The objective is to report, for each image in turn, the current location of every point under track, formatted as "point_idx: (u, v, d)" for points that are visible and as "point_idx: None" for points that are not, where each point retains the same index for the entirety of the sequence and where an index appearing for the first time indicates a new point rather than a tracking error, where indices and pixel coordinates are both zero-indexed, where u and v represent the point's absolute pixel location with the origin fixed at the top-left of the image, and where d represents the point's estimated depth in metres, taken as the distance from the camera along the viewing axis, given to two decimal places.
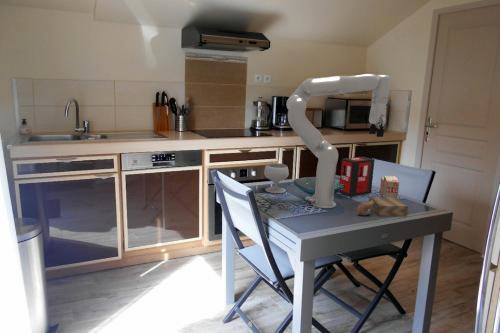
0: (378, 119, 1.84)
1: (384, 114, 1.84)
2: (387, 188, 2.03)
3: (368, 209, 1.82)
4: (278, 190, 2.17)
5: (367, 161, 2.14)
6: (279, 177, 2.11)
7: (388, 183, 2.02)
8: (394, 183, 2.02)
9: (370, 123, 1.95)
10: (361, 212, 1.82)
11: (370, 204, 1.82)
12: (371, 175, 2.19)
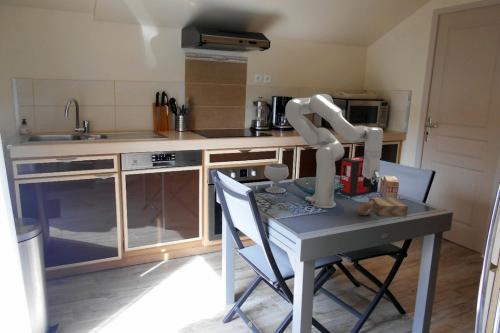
0: (371, 174, 1.75)
1: (378, 169, 1.74)
2: (387, 188, 2.03)
3: (368, 209, 1.82)
4: (278, 190, 2.17)
5: None
6: (279, 177, 2.11)
7: (388, 183, 2.02)
8: (394, 183, 2.02)
9: (363, 176, 1.85)
10: (361, 212, 1.82)
11: (370, 204, 1.82)
12: None
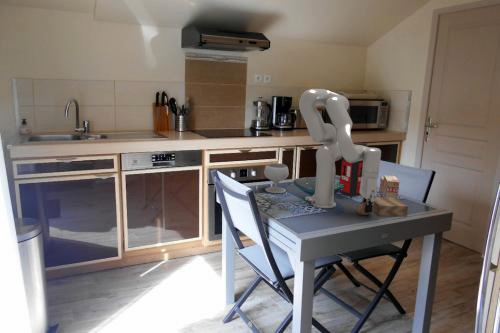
0: (369, 194, 1.77)
1: (375, 189, 1.77)
2: (387, 188, 2.03)
3: None
4: (278, 190, 2.17)
5: None
6: (279, 177, 2.11)
7: (388, 183, 2.03)
8: (394, 183, 2.02)
9: (362, 198, 1.86)
10: (361, 212, 1.82)
11: None
12: None
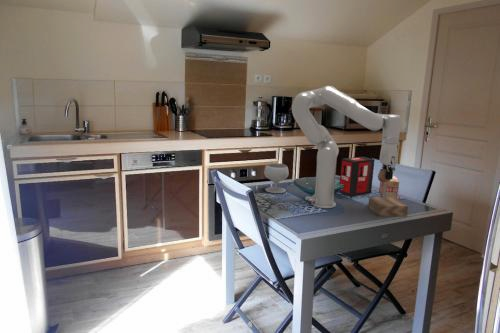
0: (389, 160, 1.78)
1: (395, 155, 1.78)
2: (387, 188, 2.04)
3: None
4: (278, 190, 2.17)
5: (367, 161, 2.14)
6: (279, 177, 2.11)
7: (388, 183, 2.03)
8: (394, 183, 2.02)
9: (382, 166, 1.87)
10: (381, 179, 1.84)
11: None
12: (371, 175, 2.19)
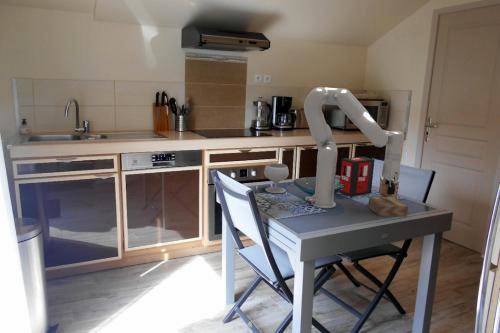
0: (392, 176, 1.82)
1: (398, 171, 1.82)
2: None
3: None
4: (278, 190, 2.17)
5: (367, 161, 2.14)
6: (279, 177, 2.11)
7: None
8: None
9: None
10: (384, 194, 1.88)
11: None
12: (371, 175, 2.19)
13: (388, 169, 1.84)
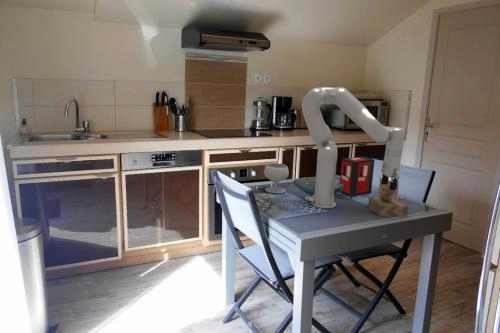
0: (391, 172, 1.82)
1: (398, 168, 1.81)
2: (387, 187, 2.04)
3: (390, 195, 1.88)
4: (278, 190, 2.17)
5: (367, 161, 2.14)
6: (279, 177, 2.11)
7: (388, 182, 2.03)
8: None
9: None
10: (383, 198, 1.88)
11: (392, 190, 1.88)
12: (371, 175, 2.19)
13: (388, 165, 1.83)
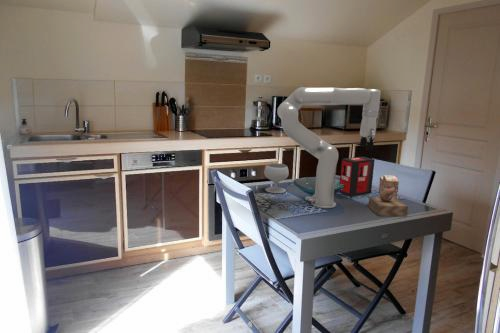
0: (368, 132, 1.87)
1: (374, 128, 1.87)
2: (387, 187, 2.04)
3: (390, 195, 1.88)
4: (278, 190, 2.17)
5: (367, 161, 2.14)
6: (279, 177, 2.11)
7: (388, 182, 2.03)
8: (394, 182, 2.03)
9: (361, 136, 1.98)
10: (383, 198, 1.88)
11: (392, 190, 1.88)
12: (371, 175, 2.19)
13: (365, 126, 1.89)
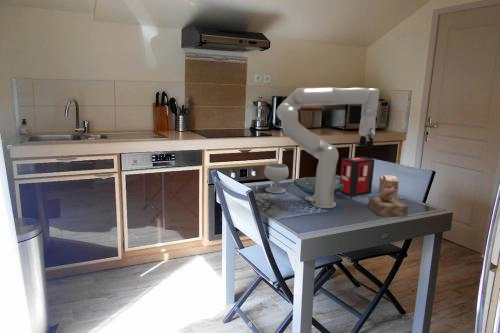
0: (367, 132, 1.88)
1: (373, 127, 1.87)
2: (387, 187, 2.04)
3: (390, 195, 1.88)
4: (278, 190, 2.17)
5: (367, 161, 2.14)
6: (279, 177, 2.11)
7: (388, 182, 2.04)
8: (394, 182, 2.03)
9: (360, 135, 1.98)
10: (383, 198, 1.88)
11: (392, 190, 1.88)
12: (371, 175, 2.19)
13: (364, 125, 1.89)
